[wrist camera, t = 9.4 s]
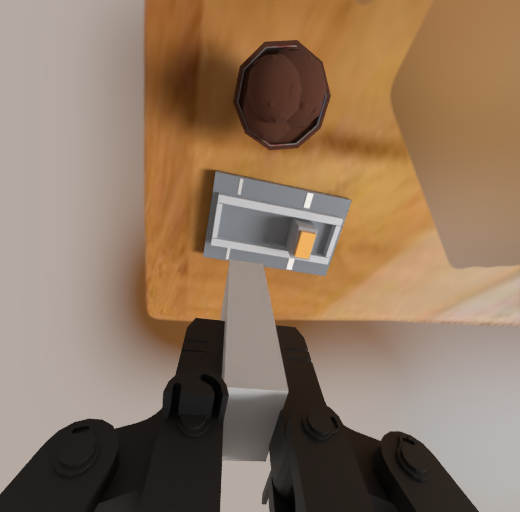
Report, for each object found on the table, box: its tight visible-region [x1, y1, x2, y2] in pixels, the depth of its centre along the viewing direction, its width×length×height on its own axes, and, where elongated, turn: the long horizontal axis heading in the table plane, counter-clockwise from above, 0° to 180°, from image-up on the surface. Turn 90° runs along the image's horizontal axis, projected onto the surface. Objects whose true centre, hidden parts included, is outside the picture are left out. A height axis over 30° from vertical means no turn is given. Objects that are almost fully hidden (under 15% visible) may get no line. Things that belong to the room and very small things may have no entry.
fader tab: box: [285, 217, 318, 260], centre depth 43 cm, size 5×3×6 cm, turn 168°
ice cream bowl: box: [233, 40, 331, 150], centre depth 33 cm, size 11×11×15 cm
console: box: [203, 170, 352, 276], centre depth 45 cm, size 14×22×4 cm, turn 78°
